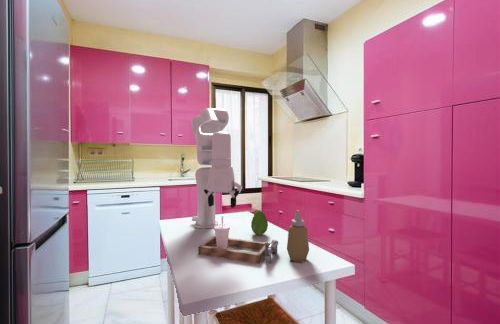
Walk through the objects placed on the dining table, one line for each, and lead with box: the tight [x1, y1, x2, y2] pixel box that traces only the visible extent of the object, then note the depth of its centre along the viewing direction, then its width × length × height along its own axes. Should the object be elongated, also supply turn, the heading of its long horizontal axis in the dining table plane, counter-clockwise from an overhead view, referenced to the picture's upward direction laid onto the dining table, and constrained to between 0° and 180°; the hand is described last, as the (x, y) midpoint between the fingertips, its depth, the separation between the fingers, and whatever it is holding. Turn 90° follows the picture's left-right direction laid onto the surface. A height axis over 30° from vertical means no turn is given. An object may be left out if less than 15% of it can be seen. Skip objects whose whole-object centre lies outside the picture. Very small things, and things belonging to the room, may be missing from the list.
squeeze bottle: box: [286, 209, 310, 263], centre depth 92 cm, size 8×8×18 cm
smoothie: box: [213, 215, 231, 249], centre depth 101 cm, size 6×6×14 cm
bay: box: [197, 236, 271, 265], centre depth 99 cm, size 25×13×3 cm, turn 70°
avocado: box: [250, 209, 269, 236], centre depth 120 cm, size 8×8×12 cm
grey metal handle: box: [264, 239, 279, 264], centre depth 93 cm, size 2×12×8 cm, turn 160°
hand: (222, 206), depth 100 cm, fingers open, 9 cm apart
